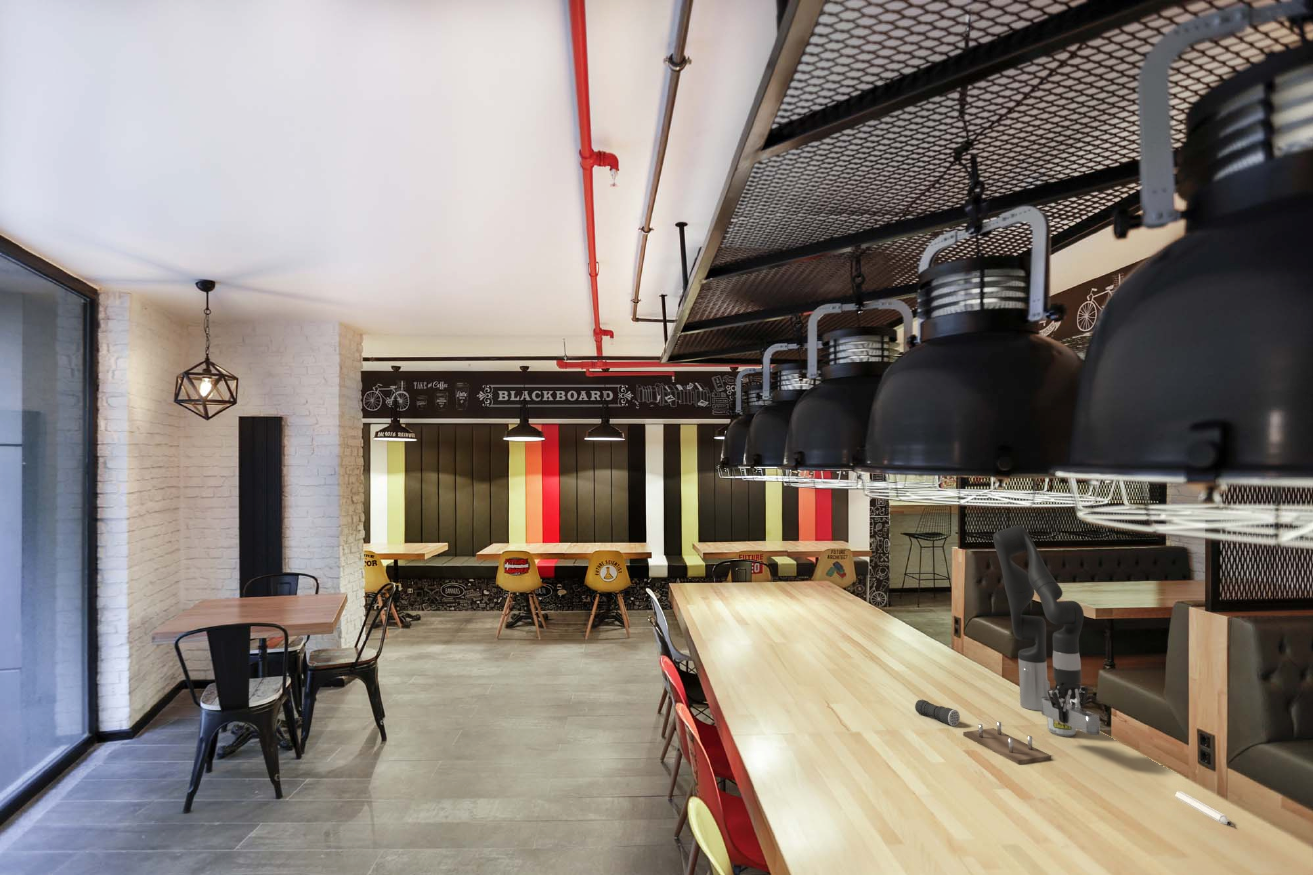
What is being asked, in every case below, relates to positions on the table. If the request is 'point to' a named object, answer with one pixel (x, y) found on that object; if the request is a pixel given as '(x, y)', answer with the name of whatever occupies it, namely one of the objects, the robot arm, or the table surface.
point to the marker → (1202, 808)
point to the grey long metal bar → (1073, 717)
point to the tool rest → (1007, 745)
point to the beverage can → (1060, 728)
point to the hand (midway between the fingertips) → (1069, 721)
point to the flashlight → (938, 712)
